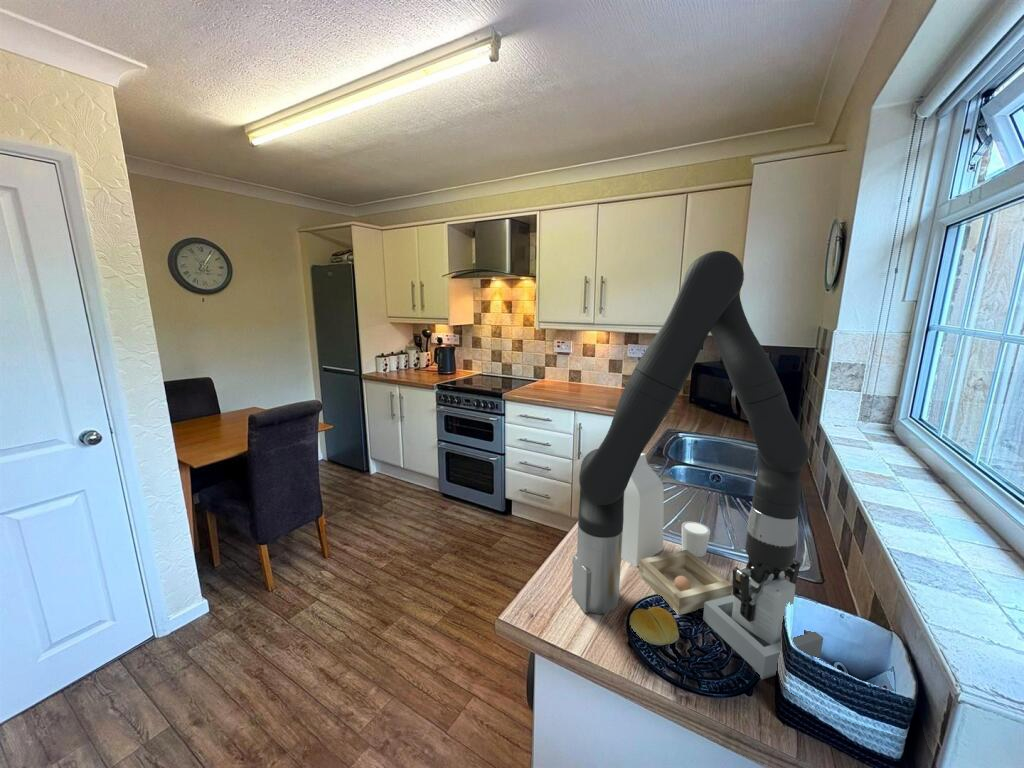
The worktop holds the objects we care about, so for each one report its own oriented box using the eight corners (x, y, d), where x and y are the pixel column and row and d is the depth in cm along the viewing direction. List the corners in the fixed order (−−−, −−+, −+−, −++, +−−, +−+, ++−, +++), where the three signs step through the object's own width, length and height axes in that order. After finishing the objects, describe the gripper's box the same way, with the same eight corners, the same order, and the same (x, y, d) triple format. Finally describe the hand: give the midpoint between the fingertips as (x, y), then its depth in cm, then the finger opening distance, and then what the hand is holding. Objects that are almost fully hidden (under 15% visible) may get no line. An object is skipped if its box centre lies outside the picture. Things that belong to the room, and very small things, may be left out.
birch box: (677, 617, 82) (679, 598, 81) (638, 576, 95) (639, 559, 94) (730, 603, 86) (732, 585, 85) (685, 566, 99) (686, 549, 98)
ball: (680, 597, 87) (681, 583, 87) (670, 587, 90) (671, 574, 90) (693, 594, 88) (694, 580, 88) (682, 584, 91) (683, 571, 91)
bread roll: (622, 618, 82) (623, 601, 82) (663, 614, 83) (665, 597, 83) (641, 651, 74) (642, 632, 73) (686, 646, 75) (688, 627, 75)
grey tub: (762, 679, 68) (765, 656, 68) (702, 621, 81) (704, 602, 80) (819, 659, 72) (823, 637, 72) (754, 607, 85) (756, 588, 84)
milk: (636, 569, 98) (642, 468, 93) (598, 547, 107) (603, 454, 102) (662, 551, 105) (670, 456, 101) (625, 532, 114) (631, 445, 110)
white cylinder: (683, 542, 110) (686, 518, 108) (711, 551, 105) (713, 526, 104) (675, 553, 104) (677, 528, 103) (704, 563, 100) (706, 538, 99)
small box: (790, 635, 74) (797, 584, 72) (773, 648, 72) (780, 595, 70) (747, 608, 81) (752, 561, 79) (730, 618, 78) (735, 570, 77)
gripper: (759, 551, 67) (748, 638, 70) (821, 537, 72) (808, 620, 75) (723, 528, 74) (715, 608, 77) (781, 517, 79) (771, 593, 82)
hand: (760, 614), depth 76 cm, fingers closed on small box, 6 cm apart
